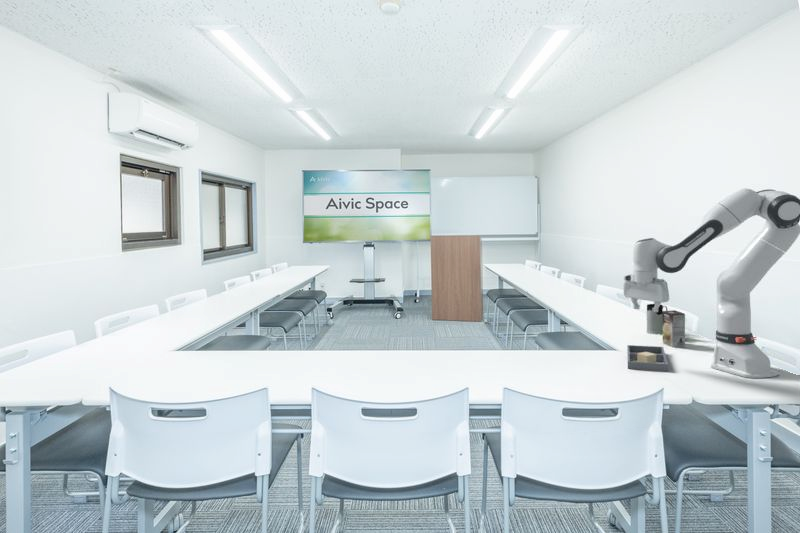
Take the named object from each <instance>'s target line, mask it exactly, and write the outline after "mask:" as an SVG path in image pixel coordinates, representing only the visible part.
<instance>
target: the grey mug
mask: <svg viewBox="0 0 800 533" xmlns="http://www.w3.org/2000/svg"><path fill="white" fill-rule="evenodd" d="M654 306H655V304H654V303H648V304H646V331H645V332H647V333H646V334H649V333H650V335H663V325H662V311H664V310H663V309H664V307H665V311H668V307H667V306H666V305H663V304H661V305H660V306H659V308H658V312H652V308H654Z"/></svg>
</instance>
